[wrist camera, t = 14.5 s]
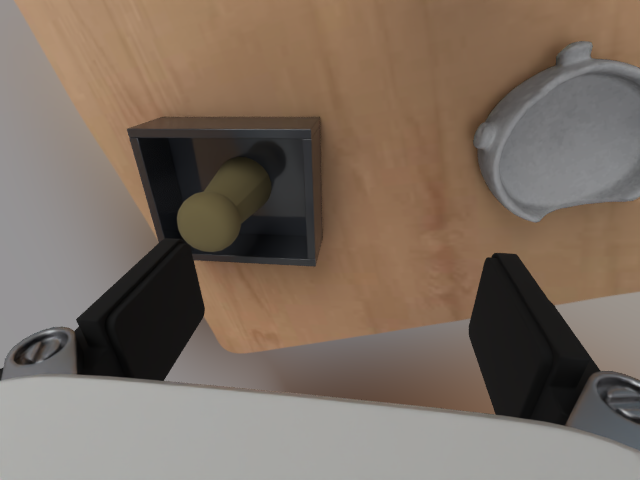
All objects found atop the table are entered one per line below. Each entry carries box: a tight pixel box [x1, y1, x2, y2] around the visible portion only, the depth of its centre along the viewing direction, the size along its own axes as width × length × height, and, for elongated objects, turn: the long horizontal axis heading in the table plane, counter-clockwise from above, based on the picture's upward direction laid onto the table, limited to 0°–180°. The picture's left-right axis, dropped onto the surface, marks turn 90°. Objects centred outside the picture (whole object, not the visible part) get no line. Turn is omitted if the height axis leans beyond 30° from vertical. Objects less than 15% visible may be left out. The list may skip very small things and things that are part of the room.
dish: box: [473, 41, 640, 222], centre depth 30 cm, size 14×14×5 cm
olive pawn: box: [177, 157, 271, 252], centre depth 33 cm, size 6×6×11 cm
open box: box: [127, 117, 323, 266], centre depth 36 cm, size 14×17×6 cm
